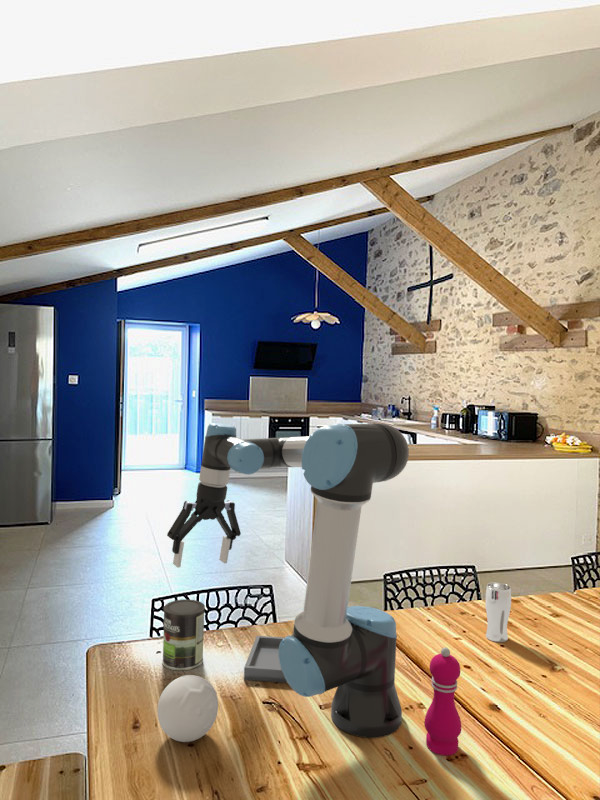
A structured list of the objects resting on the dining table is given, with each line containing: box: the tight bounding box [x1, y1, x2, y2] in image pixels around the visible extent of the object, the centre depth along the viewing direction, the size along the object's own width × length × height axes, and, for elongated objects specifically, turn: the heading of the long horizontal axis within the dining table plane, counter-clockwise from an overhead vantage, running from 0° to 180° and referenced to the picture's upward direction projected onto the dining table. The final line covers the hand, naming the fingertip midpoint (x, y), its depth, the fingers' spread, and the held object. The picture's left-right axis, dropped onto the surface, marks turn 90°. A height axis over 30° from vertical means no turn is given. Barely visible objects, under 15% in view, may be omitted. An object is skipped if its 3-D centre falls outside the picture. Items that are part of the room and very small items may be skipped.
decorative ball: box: [156, 674, 219, 743], centre depth 120 cm, size 12×12×12 cm
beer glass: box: [484, 581, 512, 643], centre depth 171 cm, size 7×7×15 cm
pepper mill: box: [424, 647, 462, 756], centre depth 119 cm, size 7×7×20 cm
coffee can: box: [162, 598, 206, 672], centre depth 152 cm, size 10×10×14 cm
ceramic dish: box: [243, 635, 288, 684], centre depth 152 cm, size 18×18×3 cm
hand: (200, 563), depth 155 cm, fingers open, 13 cm apart
